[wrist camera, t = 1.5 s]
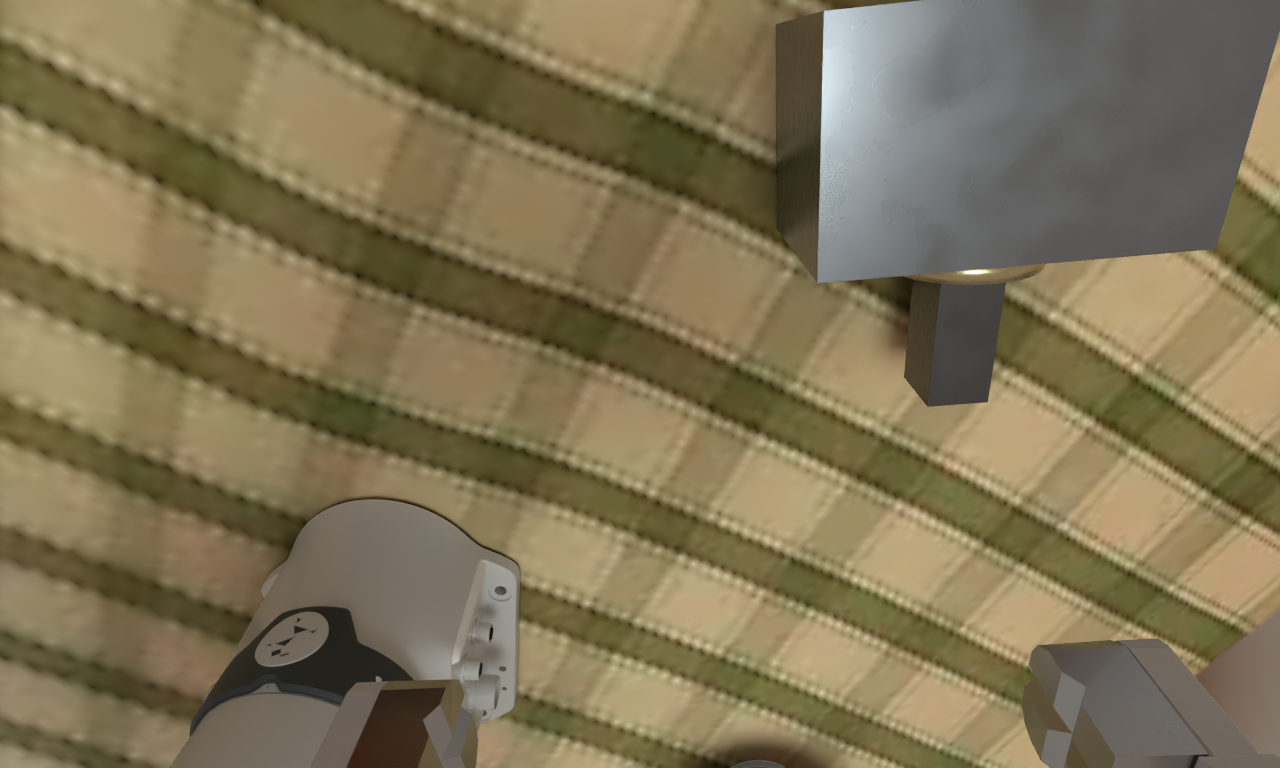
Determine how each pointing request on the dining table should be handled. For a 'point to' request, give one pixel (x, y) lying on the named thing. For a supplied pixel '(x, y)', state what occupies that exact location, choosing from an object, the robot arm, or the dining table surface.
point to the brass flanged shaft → (956, 332)
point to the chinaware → (758, 764)
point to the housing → (1012, 130)
